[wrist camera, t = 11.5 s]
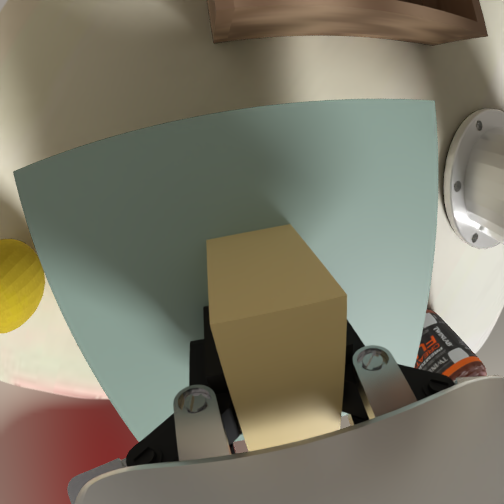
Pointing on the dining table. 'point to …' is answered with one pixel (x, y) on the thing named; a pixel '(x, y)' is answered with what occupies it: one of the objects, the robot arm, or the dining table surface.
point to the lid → (243, 253)
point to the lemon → (18, 283)
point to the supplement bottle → (446, 351)
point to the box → (348, 19)
